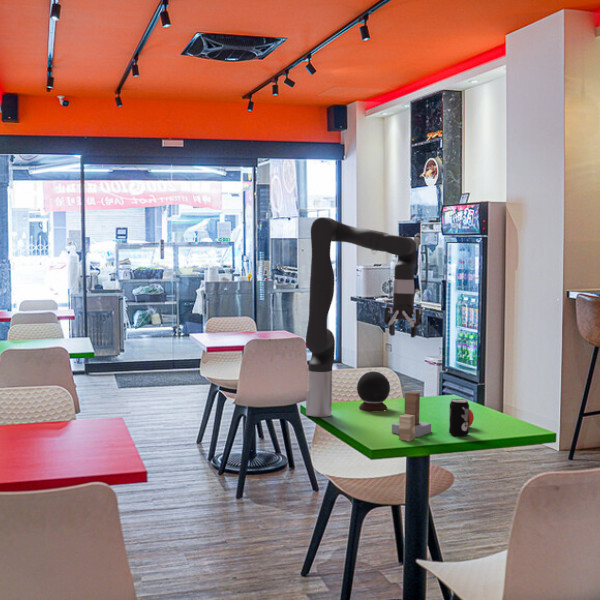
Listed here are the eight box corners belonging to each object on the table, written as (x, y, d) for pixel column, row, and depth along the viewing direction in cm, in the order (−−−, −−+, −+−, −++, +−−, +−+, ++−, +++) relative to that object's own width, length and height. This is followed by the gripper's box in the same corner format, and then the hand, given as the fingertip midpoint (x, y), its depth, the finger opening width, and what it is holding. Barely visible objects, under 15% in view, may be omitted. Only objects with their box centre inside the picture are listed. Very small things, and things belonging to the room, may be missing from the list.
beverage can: (457, 437, 269) (457, 402, 268) (445, 433, 275) (445, 399, 274) (472, 435, 272) (473, 401, 271) (460, 431, 278) (460, 397, 277)
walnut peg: (413, 434, 273) (414, 394, 272) (404, 432, 275) (404, 392, 275) (419, 432, 276) (419, 392, 275) (409, 430, 278) (410, 391, 278)
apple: (476, 430, 281) (476, 407, 280) (453, 430, 280) (454, 407, 280) (469, 425, 289) (470, 403, 288) (447, 425, 288) (448, 403, 288)
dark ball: (385, 405, 325) (385, 369, 324) (393, 411, 312) (394, 373, 311) (353, 405, 323) (354, 369, 322) (360, 412, 310) (361, 374, 309)
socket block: (417, 437, 269) (417, 428, 269) (391, 432, 275) (391, 424, 275) (431, 432, 277) (431, 423, 277) (405, 428, 283) (405, 419, 283)
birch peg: (408, 441, 263) (409, 417, 263) (398, 439, 265) (399, 415, 265) (414, 439, 266) (414, 415, 266) (404, 437, 268) (404, 414, 268)
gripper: (381, 291, 289) (380, 335, 290) (416, 293, 281) (415, 338, 282) (391, 290, 295) (390, 334, 296) (426, 292, 287) (424, 337, 288)
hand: (402, 336), depth 289 cm, fingers open, 8 cm apart
